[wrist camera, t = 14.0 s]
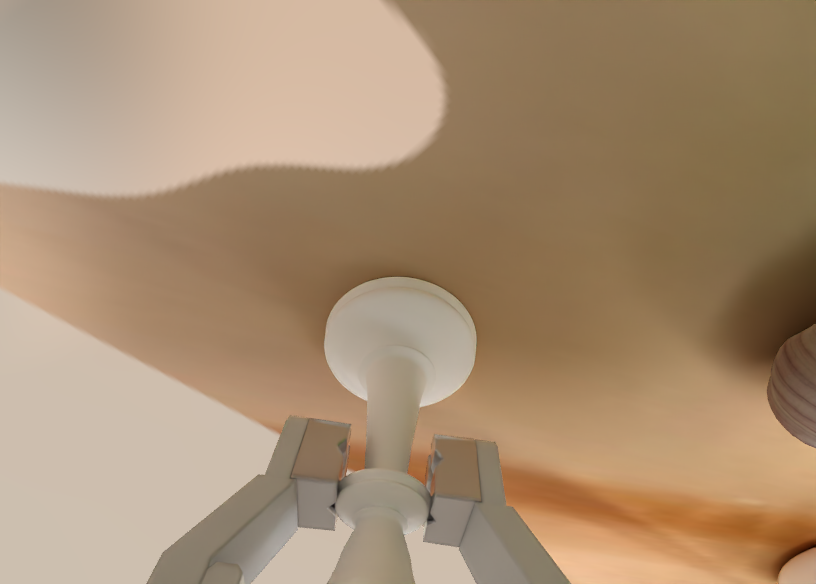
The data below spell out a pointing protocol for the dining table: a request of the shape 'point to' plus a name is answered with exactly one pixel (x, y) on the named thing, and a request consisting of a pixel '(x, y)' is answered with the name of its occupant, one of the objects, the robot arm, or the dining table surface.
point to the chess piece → (392, 410)
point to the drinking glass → (800, 569)
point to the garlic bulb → (795, 386)
